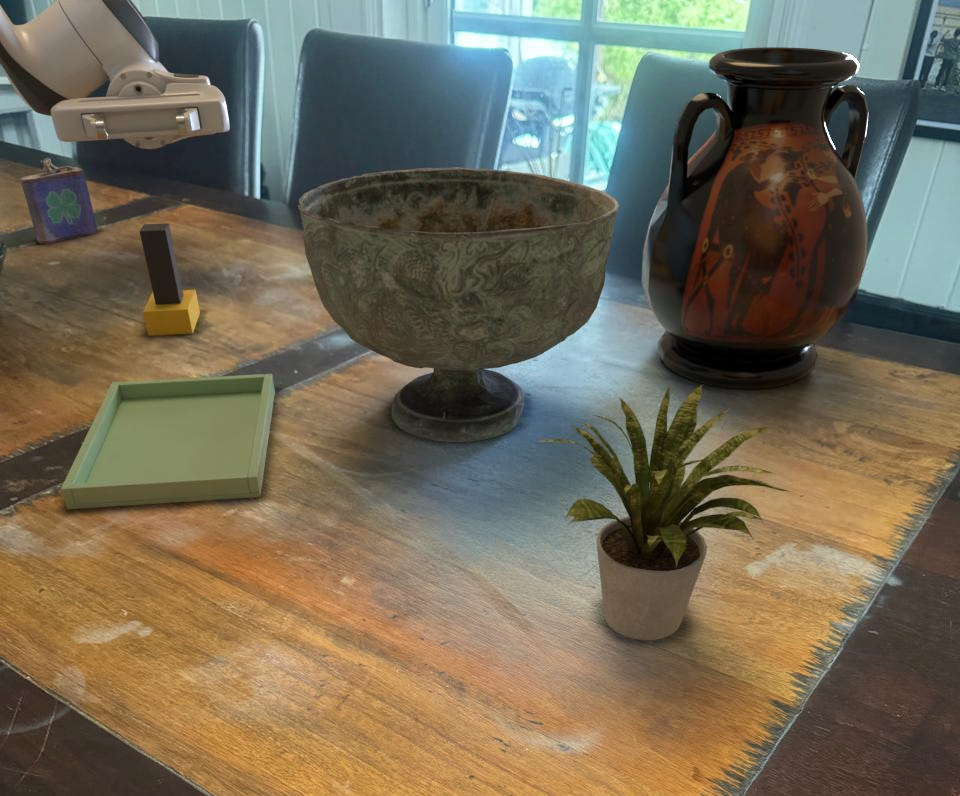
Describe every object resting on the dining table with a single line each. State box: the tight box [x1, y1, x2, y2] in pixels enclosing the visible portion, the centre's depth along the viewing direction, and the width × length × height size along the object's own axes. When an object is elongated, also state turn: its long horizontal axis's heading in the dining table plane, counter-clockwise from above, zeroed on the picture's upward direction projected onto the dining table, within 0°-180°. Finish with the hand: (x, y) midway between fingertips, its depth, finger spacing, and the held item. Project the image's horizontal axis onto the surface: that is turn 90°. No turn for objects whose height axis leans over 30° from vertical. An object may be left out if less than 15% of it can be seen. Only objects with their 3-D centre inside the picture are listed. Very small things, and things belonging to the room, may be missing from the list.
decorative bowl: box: [297, 166, 620, 443], centre depth 85 cm, size 26×26×20 cm
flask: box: [20, 157, 99, 245], centre depth 137 cm, size 9×3×11 cm, turn 134°
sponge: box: [139, 223, 201, 337], centre depth 107 cm, size 5×7×11 cm
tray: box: [60, 373, 276, 510], centre depth 85 cm, size 16×22×2 cm
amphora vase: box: [641, 46, 870, 390], centre depth 91 cm, size 22×22×28 cm
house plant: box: [535, 383, 795, 641], centre depth 59 cm, size 14×14×16 cm
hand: (141, 128), depth 108 cm, fingers open, 8 cm apart
